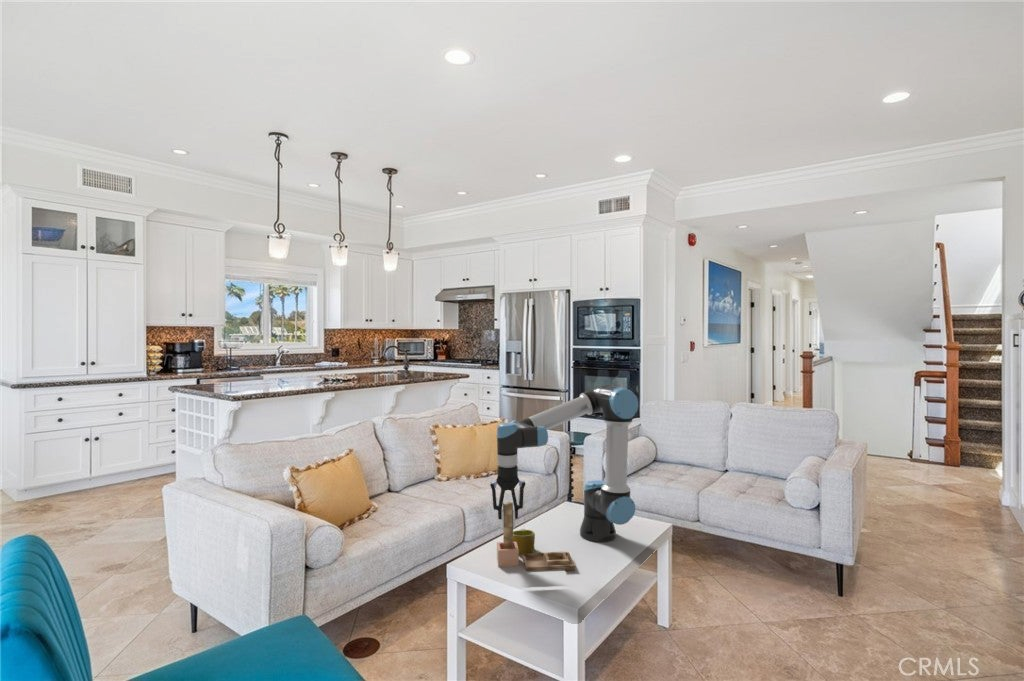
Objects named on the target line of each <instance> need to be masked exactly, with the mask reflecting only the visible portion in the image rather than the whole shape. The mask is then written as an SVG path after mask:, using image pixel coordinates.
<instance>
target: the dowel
mask: <svg viewBox="0 0 1024 681" xmlns="http://www.w3.org/2000/svg"><path fill="white" fill-rule="evenodd" d="M502 509H503V511H504V529H502V530H503V534H502V536H503V539H502V540H503V542H504V547H505V548H512V547H513V531H514V528H513V509H514V504H513V502H511V501H506V502H505V501H504V502H503V505H502Z"/></svg>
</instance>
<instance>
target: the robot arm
mask: <svg viewBox="0 0 1024 681" xmlns="http://www.w3.org/2000/svg"><path fill="white" fill-rule="evenodd" d="M638 409H639V400H638V397H637V395H636V394H635V393H634V392H633V391H632V390H631V389H629V388H625V387H621V386H617V385H616V386H615V385H609V384H603V385H601V386H597V387H594V388H591V389H589V390H587V391H584V392H581V393H580V394H579V397H576V398H574V399H571V400H568V401H565V402H563V403H560V404H559V405H555V406H553V407H551V408H548V409H546V410H544V411H541V412H539V413H535V414H534V415H532V416H531V415H530V416H529V417H526V418H524V419H521V420H520V419H514V420H511V421H510V422H503V423H502V422H501V423H499V424H498V425H497V427H496V428H497V429H496V446H497V456H496V457H497V460H496V462H497V477H496V480H495V481H490V482H489V485H490V488H491V493H492V507H493V510H494V511H497V515H498V516H497V518H498V520H501V522H500V526H501V527H500V528H501V529H502V530H503V529H504V511H503V503H504V500H505V499H504V498H505V493H506V491H510V492H511V497H512V503H513V529H516V519H518V518H519V510H522V509H523V508H524V491H525V490H524V489H525V486H526V481H525V480H521V479H520V478H519V476H518V475H519V474H518V473H519V471H518V468H519V467H518V462H519V461H518V460H519V459H518V449H525V448H538V447H544V446H546V445H547V443H548V441H549V433H548V430H550V429H553V428H556V427H558V426H560V425H563V424H565V423H567V422H570V421H572V420H574V419H578V418H579V417H582V416H584V415H588V416H591V415H593V414H596V413H597V414H598V413H602V420H603V422H604V423H605V424H606V430H605V432H606V436H605V437H606V438H605V439H606V440H605V467H604V468H605V469H604V472H605V473H604V474H605V475H604V476H605V477H604V480H603V479H602V480H601V479H599V480H597V479H595V480H590V481H586V482H585V483H584V486H583V487H584V488H583V492H584V493H583V515H584V516H583V518H582V522H581V523H580V524H581V525H580V528H579V534H580V538H581V537H582V538H583V539H585V540H587V541H591V542H598V543H599V542H600V543H602V542H609V541H613V540H615V539H616V536H617V533H616V532H617V531H616V527H615V525H620V526H621V525H626V524H627V523H629V522H630V520H631V519H633V517H634V515H635V513H636V503H635V501H634V500H633V499H632V498H631V488H630V487H629V485H628V480H627V479H628V451H629V449H628V448H629V425H631V424H632V422H633V417H634V416H635V415H636V413H637V412H638ZM497 485H498V486H499V488H500V493H499V498H498V499H499V501H498V505H497V493H496V492H497V491H496V488H497ZM517 485H518V486H519V496H518V501H517V495H516V491H515V488H516V487H517ZM517 502H518V503H517Z"/></svg>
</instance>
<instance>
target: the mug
mask: <svg viewBox="0 0 1024 681" xmlns="http://www.w3.org/2000/svg"><path fill="white" fill-rule="evenodd" d="M535 536H536V533H535V532H534V531H533V530H530V529H525V528H523V529H522V528H521V529H520V530H518V529H517V530H513V542H517V546H518V549H519V556H522V554H527V553H535V543H536V542H535V540H536V537H535Z"/></svg>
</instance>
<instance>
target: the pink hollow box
mask: <svg viewBox="0 0 1024 681" xmlns="http://www.w3.org/2000/svg"><path fill="white" fill-rule="evenodd" d="M519 556H520V555H519V549H518V546H517V542H513V547H512V548H505V547H504V541H500V542H496V563H497V568H503V567H505V568H507V567H520V566H519V565H520V564H519V562H520V561H519Z"/></svg>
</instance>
